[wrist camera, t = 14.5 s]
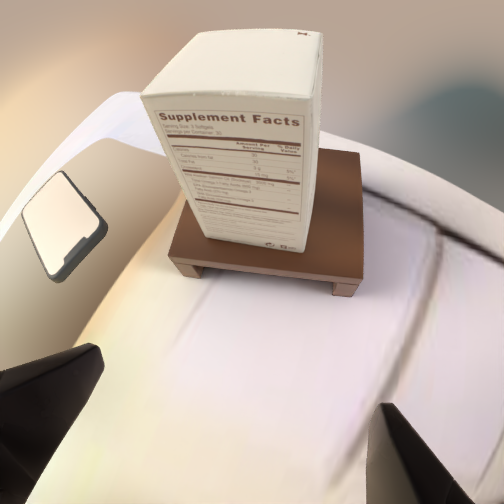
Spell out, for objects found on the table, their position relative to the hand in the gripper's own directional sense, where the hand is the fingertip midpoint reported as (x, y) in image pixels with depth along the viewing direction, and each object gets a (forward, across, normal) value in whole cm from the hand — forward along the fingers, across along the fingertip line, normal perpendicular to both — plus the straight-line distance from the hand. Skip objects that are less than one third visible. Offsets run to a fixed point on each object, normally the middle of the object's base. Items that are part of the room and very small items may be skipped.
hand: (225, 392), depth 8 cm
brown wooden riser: (+20, +1, 0) cm, 20 cm away
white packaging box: (+16, +2, -2) cm, 16 cm away
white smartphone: (+18, +26, +1) cm, 32 cm away
